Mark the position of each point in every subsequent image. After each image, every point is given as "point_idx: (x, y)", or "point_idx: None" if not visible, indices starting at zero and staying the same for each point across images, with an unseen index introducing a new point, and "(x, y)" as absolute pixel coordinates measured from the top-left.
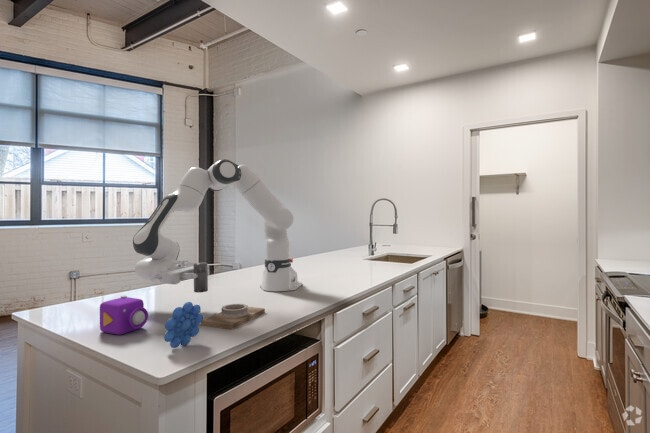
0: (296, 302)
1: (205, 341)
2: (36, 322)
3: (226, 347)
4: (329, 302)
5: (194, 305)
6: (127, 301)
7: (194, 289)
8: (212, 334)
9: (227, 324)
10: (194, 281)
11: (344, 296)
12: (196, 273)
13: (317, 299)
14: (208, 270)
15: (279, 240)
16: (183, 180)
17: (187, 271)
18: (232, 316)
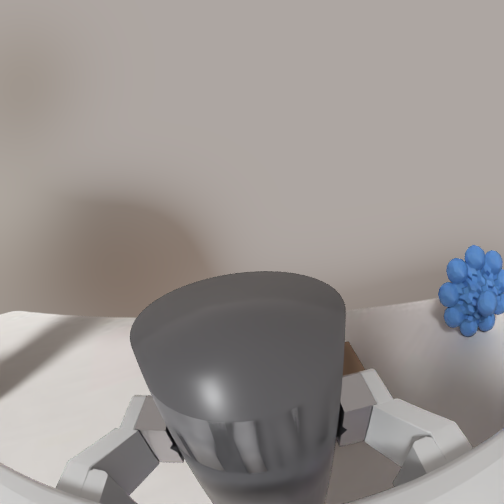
0: (81, 356)
1: (429, 333)
2: None
3: (408, 304)
4: (90, 320)
5: (460, 259)
6: None
7: (325, 498)
8: (400, 352)
9: (353, 350)
10: (330, 468)
11: (54, 317)
12: (344, 376)
13: (64, 337)
14: (140, 395)
15: None
16: None
17: (384, 493)
18: None
